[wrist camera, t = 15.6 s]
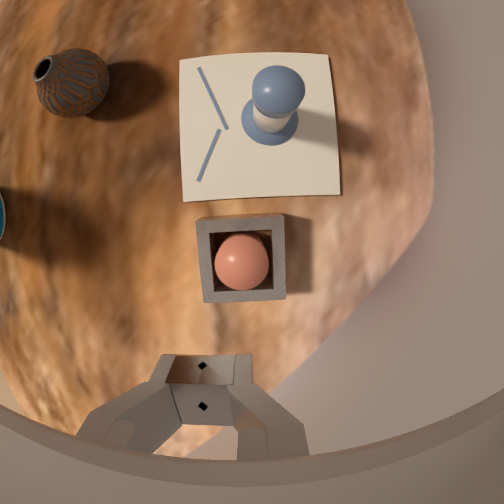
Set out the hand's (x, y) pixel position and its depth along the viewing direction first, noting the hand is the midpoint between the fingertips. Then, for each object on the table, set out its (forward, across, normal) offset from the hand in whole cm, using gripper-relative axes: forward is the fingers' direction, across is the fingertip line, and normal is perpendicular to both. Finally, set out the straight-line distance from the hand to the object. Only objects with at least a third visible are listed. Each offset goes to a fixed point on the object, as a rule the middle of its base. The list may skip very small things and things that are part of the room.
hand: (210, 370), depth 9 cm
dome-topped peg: (+17, -4, -12) cm, 21 cm away
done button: (+17, -1, 0) cm, 17 cm away
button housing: (+17, -1, 0) cm, 17 cm away
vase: (+18, +14, -18) cm, 29 cm away
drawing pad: (+17, -3, -12) cm, 21 cm away
